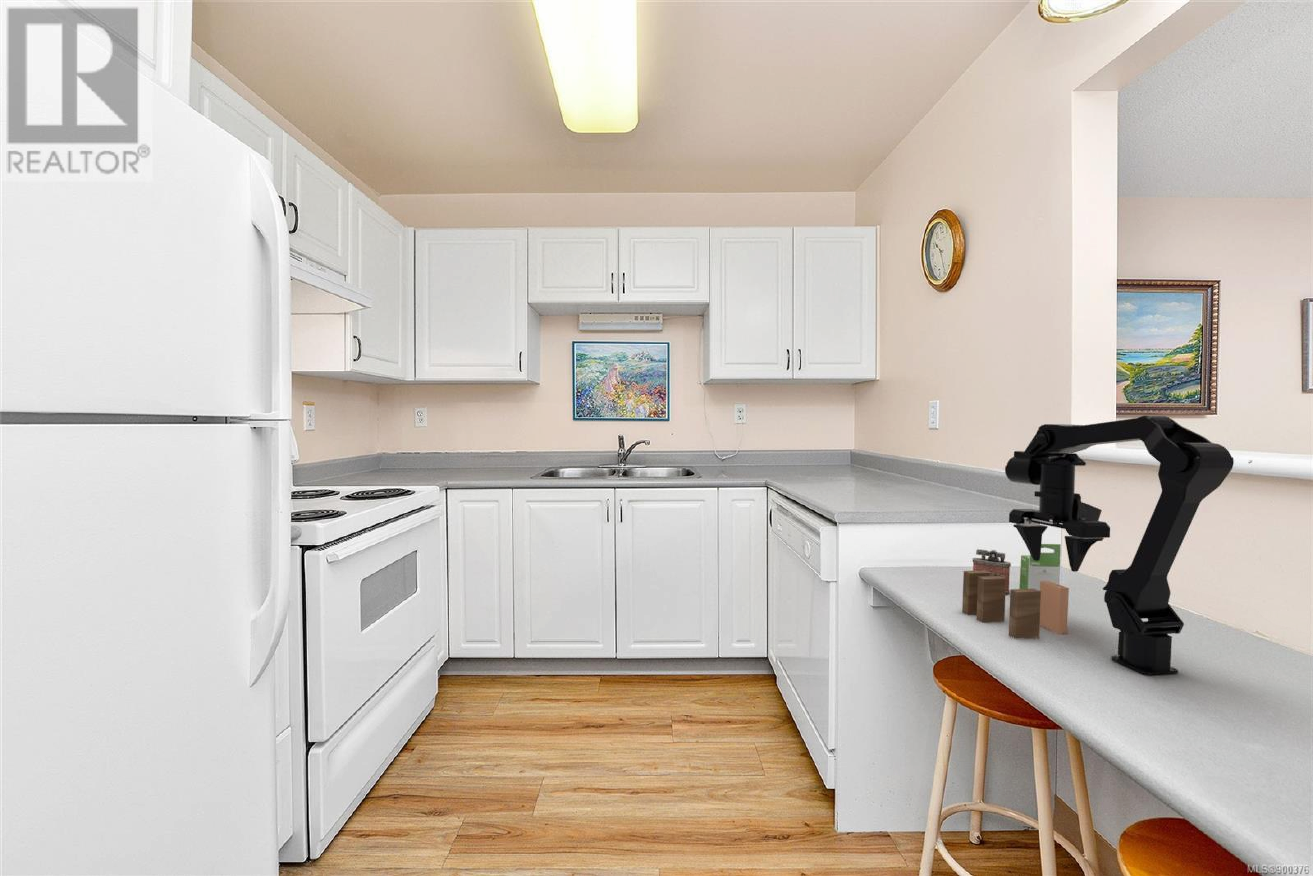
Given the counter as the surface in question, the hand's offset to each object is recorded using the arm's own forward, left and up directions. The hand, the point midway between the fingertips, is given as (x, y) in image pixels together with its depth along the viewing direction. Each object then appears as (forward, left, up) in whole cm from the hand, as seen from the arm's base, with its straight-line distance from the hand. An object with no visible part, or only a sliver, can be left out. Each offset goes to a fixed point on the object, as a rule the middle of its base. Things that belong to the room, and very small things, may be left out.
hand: (1054, 565), depth 118 cm
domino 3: (-3, +9, -13) cm, 16 cm away
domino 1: (+10, +9, -13) cm, 19 cm away
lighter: (+25, -6, -13) cm, 29 cm away
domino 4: (0, 0, -13) cm, 13 cm away
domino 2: (+6, +9, -13) cm, 17 cm away
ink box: (+18, -13, -13) cm, 26 cm away
